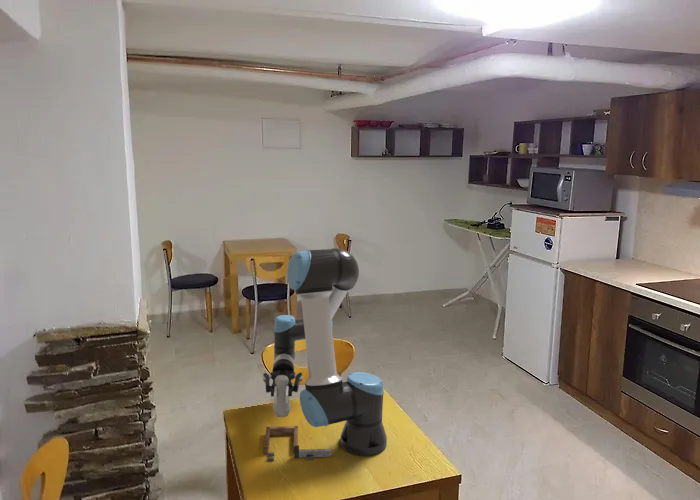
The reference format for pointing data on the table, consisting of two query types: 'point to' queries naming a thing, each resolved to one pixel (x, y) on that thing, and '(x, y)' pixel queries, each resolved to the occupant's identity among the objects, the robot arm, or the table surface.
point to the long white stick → (311, 452)
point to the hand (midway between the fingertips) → (280, 399)
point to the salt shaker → (281, 397)
